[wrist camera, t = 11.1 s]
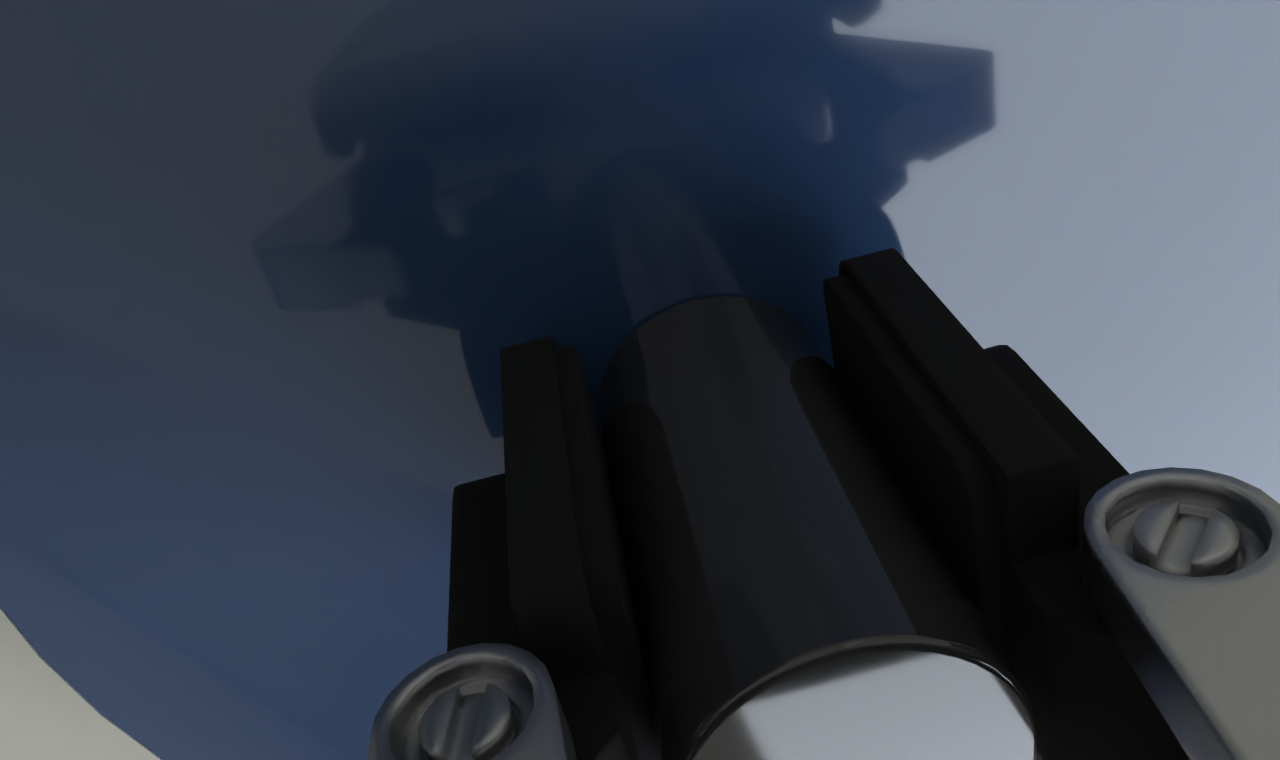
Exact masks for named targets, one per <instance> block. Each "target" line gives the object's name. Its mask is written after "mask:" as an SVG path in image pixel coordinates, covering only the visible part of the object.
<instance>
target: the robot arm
mask: <svg viewBox="0 0 1280 760" xmlns="http://www.w3.org/2000/svg"><path fill="white" fill-rule="evenodd" d="M823 290H824V299H825V306H826V313H827V319H828V326H829V333H830V340H831V347H832V354H833V361H834V368H835V372H836V374H837V375H838V377H839V379H840V380H841V382H842V384H843V385H844V387H845V389H846V390H847V392H848V394H849V395H850V397H851V399H852V400H853V402H854V404H855V405H856V407H857V409H858V410H859V412H860V413H861V415H862V417H863V418H864V420H865V422H866V423H867V425H868V427H869V428H870V430H871V432H872V433H873V435H874V437H875V438H876V440H877V442H878V443H879V445H880V447H881V448H882V450H883V452H884V453H885V455H886V457H887V458H888V460H889V462H890V463H891V465H892V467H893V468H894V470H895V472H896V473H897V475H898V477H899V478H900V480H901V482H902V483H903V485H904V487H905V488H906V490H907V492H908V493H909V495H910V497H911V498H912V500H913V502H914V503H915V505H916V507H917V508H918V510H919V512H920V513H921V515H922V517H923V518H924V520H925V522H926V523H927V525H928V527H929V528H930V530H931V532H932V533H933V535H934V537H935V538H936V540H937V542H938V543H939V545H940V547H941V548H942V550H943V552H944V553H945V555H946V557H947V558H948V560H949V562H950V563H951V565H952V566H953V568H954V570H955V571H956V573H957V575H958V576H959V578H960V580H961V581H962V583H963V585H964V586H965V588H966V590H967V591H968V593H969V595H970V596H971V598H972V600H973V601H974V603H975V605H976V606H977V608H978V610H979V611H980V613H981V615H982V616H983V618H984V620H985V621H986V623H987V625H988V626H989V628H990V630H991V631H992V633H993V635H994V636H995V638H996V640H997V641H998V643H999V645H1000V646H1001V648H1002V650H1003V651H1004V653H1005V655H1006V656H1007V658H1008V660H1009V661H1010V663H1011V665H1012V666H1013V668H1014V670H1015V671H1016V673H1017V675H1018V676H1019V678H1020V680H1021V681H1022V683H1023V685H1024V686H1025V688H1026V690H1027V691H1028V693H1029V695H1030V696H1031V698H1032V701H1033V704H1034V707H1035V709H1036V712H1037V717H1038V725H1039V734H1040V740H1039V754H1038V759H1037V760H1280V504H1279V503H1278V502H1276V501H1275V500H1274V499H1273V498H1271V497H1270V496H1269V495H1267V494H1266V493H1265V492H1263V491H1262V490H1261V489H1259V488H1257V487H1255V486H1253V485H1250V484H1248V483H1246V482H1244V481H1241V480H1239V479H1237V478H1235V477H1232V476H1228V475H1224V474H1220V473H1216V472H1211V471H1207V470H1203V469H1191V468H1175V467H1168V468H1159V469H1150V470H1141V471H1138V472H1135V473H1132V474H1129V473H1128V472H1127V470H1126V469H1125V468H1124V467H1123V466H1122V465H1121V464H1120V463H1119V462H1118V461H1117V460H1116V459H1115V458H1114V457H1113V455H1112V454H1111V453H1110V452H1109V451H1108V450H1107V449H1106V448H1105V447H1104V446H1103V445H1102V444H1101V443H1100V442H1099V440H1098V439H1097V438H1096V437H1095V436H1094V435H1093V434H1092V433H1091V432H1090V431H1089V430H1088V429H1087V428H1086V427H1085V425H1084V424H1083V423H1082V422H1081V421H1080V420H1079V419H1078V418H1077V417H1076V416H1075V415H1074V414H1073V413H1072V412H1071V410H1070V409H1069V408H1068V407H1067V406H1066V405H1065V404H1064V403H1063V402H1062V401H1061V400H1060V399H1059V398H1058V397H1057V395H1056V394H1055V393H1054V392H1053V391H1052V390H1051V389H1050V388H1049V387H1048V386H1047V385H1046V384H1045V383H1044V382H1043V380H1042V379H1041V378H1040V377H1039V376H1038V375H1037V374H1036V373H1035V372H1034V371H1033V370H1032V369H1031V368H1030V367H1029V365H1028V364H1027V363H1026V362H1025V361H1024V360H1023V359H1022V358H1021V357H1020V356H1019V355H1018V354H1017V353H1016V352H1015V351H1014V350H1013V349H1012V348H1010V347H1009V346H1008V345H997V346H993V347H989V348H985V349H983V348H982V347H981V345H980V344H979V343H978V342H977V341H976V340H975V339H974V337H973V336H972V335H971V334H970V333H969V332H968V331H967V329H966V328H965V327H964V326H963V325H962V324H961V323H960V322H959V320H958V319H957V318H956V317H955V316H954V315H953V314H952V312H951V311H950V310H949V309H948V308H947V307H946V306H945V305H944V303H943V302H942V301H941V300H940V299H939V298H938V297H937V295H936V294H935V293H934V292H933V291H932V290H931V289H930V288H929V286H928V285H927V284H926V283H925V282H924V281H923V280H922V278H921V277H920V276H919V275H918V274H917V273H916V272H915V271H914V269H913V268H912V267H911V266H910V265H909V264H908V263H907V261H906V260H905V259H904V258H903V257H902V256H901V255H900V253H899V252H898V251H897V250H895V249H894V248H889V249H885V250H882V251H878V252H874V253H870V254H866V255H862V256H858V257H854V258H851V259H847V260H843V261H840V264H839V276H835V277H831V278H827V279H824V282H823ZM500 357H501V384H502V410H503V437H504V464H505V473H502V474H498V475H495V476H491V477H487V478H483V479H479V480H475V481H471V482H468V483H464V484H460V485H457V486H456V487H455V488H454V491H453V500H452V527H451V555H450V582H449V610H448V637H447V653H444V654H442V655H439V656H437V657H435V658H432V659H430V660H429V661H427V662H426V663H424V664H423V665H421V666H420V667H419V668H417V669H416V670H414V671H413V672H411V673H410V674H408V675H407V676H406V677H405V678H404V679H403V680H402V681H401V682H400V683H399V684H398V685H397V686H396V687H395V688H394V689H393V690H392V691H391V693H390V694H389V695H388V696H387V697H386V699H385V701H384V702H383V704H382V706H381V708H380V709H379V711H378V713H377V715H376V716H375V718H374V721H373V726H372V730H371V735H370V739H369V753H368V760H660V756H659V751H658V745H657V740H656V735H655V729H654V724H653V718H652V704H651V698H650V693H649V688H648V682H647V677H646V672H645V666H644V661H643V656H642V650H641V645H640V640H639V634H638V629H637V623H636V618H635V613H634V607H633V602H632V597H631V591H630V586H629V581H628V575H627V570H626V565H625V559H624V554H623V549H622V543H621V538H620V532H619V527H618V522H617V516H616V511H615V506H614V500H613V495H612V490H611V484H610V479H609V474H608V468H607V463H606V458H605V452H604V447H603V441H602V436H601V432H600V429H599V425H598V422H597V418H596V415H595V411H594V408H593V404H592V401H591V397H590V394H589V390H588V387H587V383H586V380H585V376H584V373H583V369H582V366H581V362H580V359H579V355H578V352H577V349H576V346H575V344H572V345H568V346H564V347H560V348H556V346H555V343H554V340H553V338H552V336H549V337H545V338H541V339H537V340H533V341H529V342H525V343H522V344H518V345H514V346H510V347H506V348H502V349H501V351H500Z"/></svg>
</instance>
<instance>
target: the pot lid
mask: <svg viewBox="0 0 1280 760" xmlns="http://www.w3.org/2000/svg"><path fill="white" fill-rule="evenodd" d="M889 248H894V249H895V250H897V251H898V252H899V253H900V255H901V256H902V257H903V258H904V259H905V260H906V261H907V263H908V264H909V265H910V266H911V267H912V268H913V269H914V271H915V272H916V273H917V274H918V275H919V276H920V277H921V278H922V280H923V281H924V282H925V283H926V284H927V285H928V286H929V288H930V289H931V290H932V291H933V292H934V293H935V294H936V295H937V297H938V298H939V299H940V300H941V301H942V302H943V303H944V305H945V306H946V307H947V308H948V309H949V310H950V311H951V312H952V314H953V315H954V316H955V317H956V318H957V319H958V320H959V322H960V323H961V324H962V325H963V326H964V327H965V328H966V329H967V331H968V332H969V333H970V334H971V335H972V336H973V337H974V339H975V340H976V341H977V342H978V343H979V344H980V345H981V347H982V348H983V349H985V348H989V347H993V346H997V345H1008V346H1009V347H1010V348H1012V349H1013V350H1014V351H1015V352H1016V353H1017V354H1018V355H1019V356H1020V357H1021V358H1022V359H1023V360H1024V361H1025V362H1026V363H1027V364H1028V365H1029V367H1030V368H1031V369H1032V370H1033V371H1034V372H1035V373H1036V374H1037V375H1038V376H1039V377H1040V378H1041V379H1042V380H1043V382H1044V383H1045V384H1046V385H1047V386H1048V387H1049V388H1050V389H1051V390H1052V391H1053V392H1054V393H1055V394H1056V395H1057V397H1058V398H1059V399H1060V400H1061V401H1062V402H1063V403H1064V404H1065V405H1066V406H1067V407H1068V408H1069V409H1070V410H1071V412H1072V413H1073V414H1074V415H1075V416H1076V417H1077V418H1078V419H1079V420H1080V421H1081V422H1082V423H1083V424H1084V425H1085V427H1086V428H1087V429H1088V430H1089V431H1090V432H1091V433H1092V434H1093V435H1094V436H1095V437H1096V438H1097V439H1098V440H1099V442H1100V443H1101V444H1102V445H1103V446H1104V447H1105V448H1106V449H1107V450H1108V451H1109V452H1110V453H1111V454H1112V455H1113V457H1114V458H1115V459H1116V460H1117V461H1118V462H1119V463H1120V464H1121V465H1122V466H1123V467H1124V468H1125V469H1126V470H1127V472H1128V473H1129V474H1132V473H1135V472H1138V471H1141V470H1150V469H1159V468H1168V467H1175V468H1191V469H1203V470H1207V471H1211V472H1216V473H1220V474H1224V475H1228V476H1232V477H1235V478H1237V479H1239V480H1241V481H1244V482H1246V483H1248V484H1250V485H1253V486H1255V487H1257V488H1259V489H1261V490H1262V491H1263V492H1265V493H1266V494H1267V495H1269V496H1270V497H1271V498H1273V499H1274V500H1275V501H1276V502H1278V503H1279V504H1280V0H0V609H1V610H2V612H3V613H4V614H5V615H6V617H7V618H8V619H9V620H10V622H11V623H12V624H13V625H14V626H15V628H16V629H17V630H18V631H19V633H20V634H21V635H22V636H23V637H24V639H25V640H26V641H27V642H28V644H29V645H30V646H31V647H32V649H33V650H34V651H35V652H36V653H37V655H38V656H39V657H40V658H41V659H42V660H43V661H44V662H45V663H46V664H47V665H48V666H49V667H51V668H52V669H53V670H54V671H55V672H56V673H57V674H58V675H59V676H60V677H61V678H62V679H63V680H64V681H65V682H66V683H67V684H68V685H69V686H71V687H72V688H73V689H74V690H75V691H76V692H77V693H78V694H79V695H80V696H81V697H82V698H83V699H84V700H85V701H86V702H87V703H88V704H90V705H91V706H92V707H93V708H94V709H95V710H96V711H97V712H98V713H99V714H100V715H101V716H103V717H104V718H105V719H107V720H108V721H109V722H111V723H112V724H113V725H115V726H116V727H117V728H119V729H120V730H121V731H123V732H124V733H126V734H127V735H128V736H130V737H131V738H132V739H134V740H135V741H136V742H138V743H139V744H140V745H142V746H143V747H144V748H146V749H147V750H148V751H150V752H151V753H152V754H154V755H155V756H157V757H158V758H159V759H161V760H368V753H369V739H370V735H371V730H372V726H373V721H374V718H375V716H376V715H377V713H378V711H379V709H380V708H381V706H382V704H383V702H384V701H385V699H386V697H387V696H388V695H389V694H390V693H391V691H392V690H393V689H394V688H395V687H396V686H397V685H398V684H399V683H400V682H401V681H402V680H403V679H404V678H405V677H406V676H407V675H408V674H410V673H411V672H413V671H414V670H416V669H417V668H419V667H420V666H421V665H423V664H424V663H426V662H427V661H429V660H430V659H432V658H435V657H437V656H439V655H442V654H444V653H447V637H448V610H449V582H450V555H451V527H452V500H453V491H454V488H455V487H456V486H457V485H460V484H464V483H468V482H471V481H475V480H479V479H483V478H487V477H491V476H495V475H498V474H502V473H505V464H504V437H503V410H502V384H501V357H500V351H501V349H502V348H506V347H510V346H514V345H518V344H522V343H525V342H529V341H533V340H537V339H541V338H545V337H549V336H552V338H553V340H554V343H555V346H556V348H560V347H564V346H568V345H572V344H575V346H576V349H577V352H578V355H579V359H580V362H581V366H582V369H583V373H584V376H585V380H586V383H587V387H588V390H589V394H590V397H591V401H592V404H593V408H594V411H595V415H596V418H597V422H598V425H599V429H600V432H601V436H602V441H603V447H604V452H605V458H606V463H607V468H608V474H609V479H610V484H611V490H612V495H613V500H614V506H615V511H616V516H617V522H618V527H619V532H620V538H621V543H622V549H623V554H624V559H625V565H626V570H627V575H628V581H629V586H630V591H631V597H632V602H633V607H634V613H635V618H636V623H637V629H638V634H639V640H640V645H641V650H642V656H643V661H644V666H645V672H646V677H647V682H648V688H649V693H650V698H651V704H652V718H653V724H654V729H655V735H656V740H657V745H658V751H659V756H660V760H1037V759H1038V754H1039V740H1040V734H1039V725H1038V717H1037V712H1036V709H1035V707H1034V704H1033V701H1032V698H1031V696H1030V695H1029V693H1028V691H1027V690H1026V688H1025V686H1024V685H1023V683H1022V681H1021V680H1020V678H1019V676H1018V675H1017V673H1016V671H1015V670H1014V668H1013V666H1012V665H1011V663H1010V661H1009V660H1008V658H1007V656H1006V655H1005V653H1004V651H1003V650H1002V648H1001V646H1000V645H999V643H998V641H997V640H996V638H995V636H994V635H993V633H992V631H991V630H990V628H989V626H988V625H987V623H986V621H985V620H984V618H983V616H982V615H981V613H980V611H979V610H978V608H977V606H976V605H975V603H974V601H973V600H972V598H971V596H970V595H969V593H968V591H967V590H966V588H965V586H964V585H963V583H962V581H961V580H960V578H959V576H958V575H957V573H956V571H955V570H954V568H953V566H952V565H951V563H950V562H949V560H948V558H947V557H946V555H945V553H944V552H943V550H942V548H941V547H940V545H939V543H938V542H937V540H936V538H935V537H934V535H933V533H932V532H931V530H930V528H929V527H928V525H927V523H926V522H925V520H924V518H923V517H922V515H921V513H920V512H919V510H918V508H917V507H916V505H915V503H914V502H913V500H912V498H911V497H910V495H909V493H908V492H907V490H906V488H905V487H904V485H903V483H902V482H901V480H900V478H899V477H898V475H897V473H896V472H895V470H894V468H893V467H892V465H891V463H890V462H889V460H888V458H887V457H886V455H885V453H884V452H883V450H882V448H881V447H880V445H879V443H878V442H877V440H876V438H875V437H874V435H873V433H872V432H871V430H870V428H869V427H868V425H867V423H866V422H865V420H864V418H863V417H862V415H861V413H860V412H859V410H858V409H857V407H856V405H855V404H854V402H853V400H852V399H851V397H850V395H849V394H848V392H847V390H846V389H845V387H844V385H843V384H842V382H841V380H840V379H839V377H838V375H837V374H836V372H835V368H834V361H833V354H832V347H831V340H830V333H829V326H828V319H827V313H826V306H825V299H824V290H823V282H824V279H827V278H831V277H835V276H839V264H840V261H843V260H847V259H851V258H854V257H858V256H862V255H866V254H870V253H874V252H878V251H882V250H885V249H889Z"/></svg>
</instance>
